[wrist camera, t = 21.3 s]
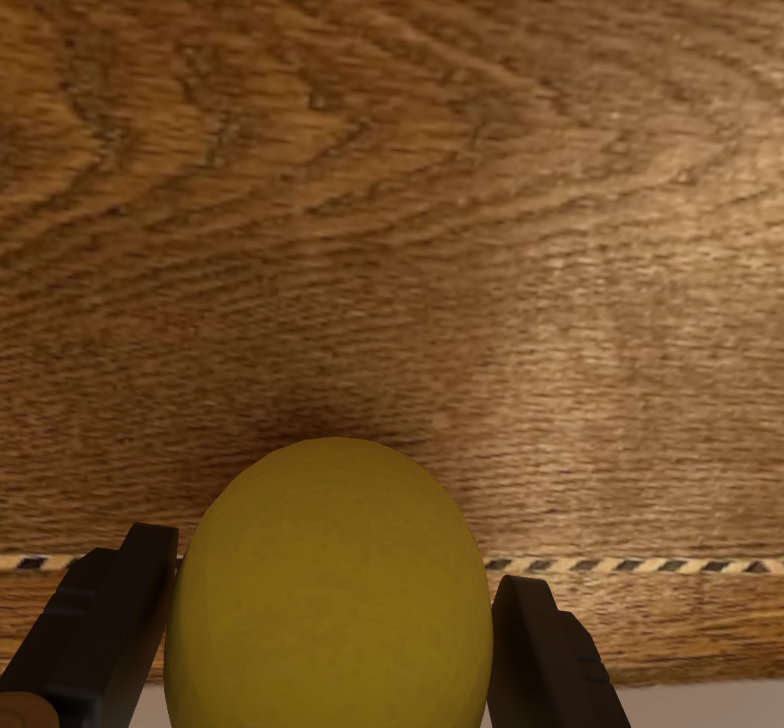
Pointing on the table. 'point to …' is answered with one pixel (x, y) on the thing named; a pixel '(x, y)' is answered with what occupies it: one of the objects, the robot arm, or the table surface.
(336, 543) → the lemon
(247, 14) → the table surface
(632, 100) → the table surface
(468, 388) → the table surface
